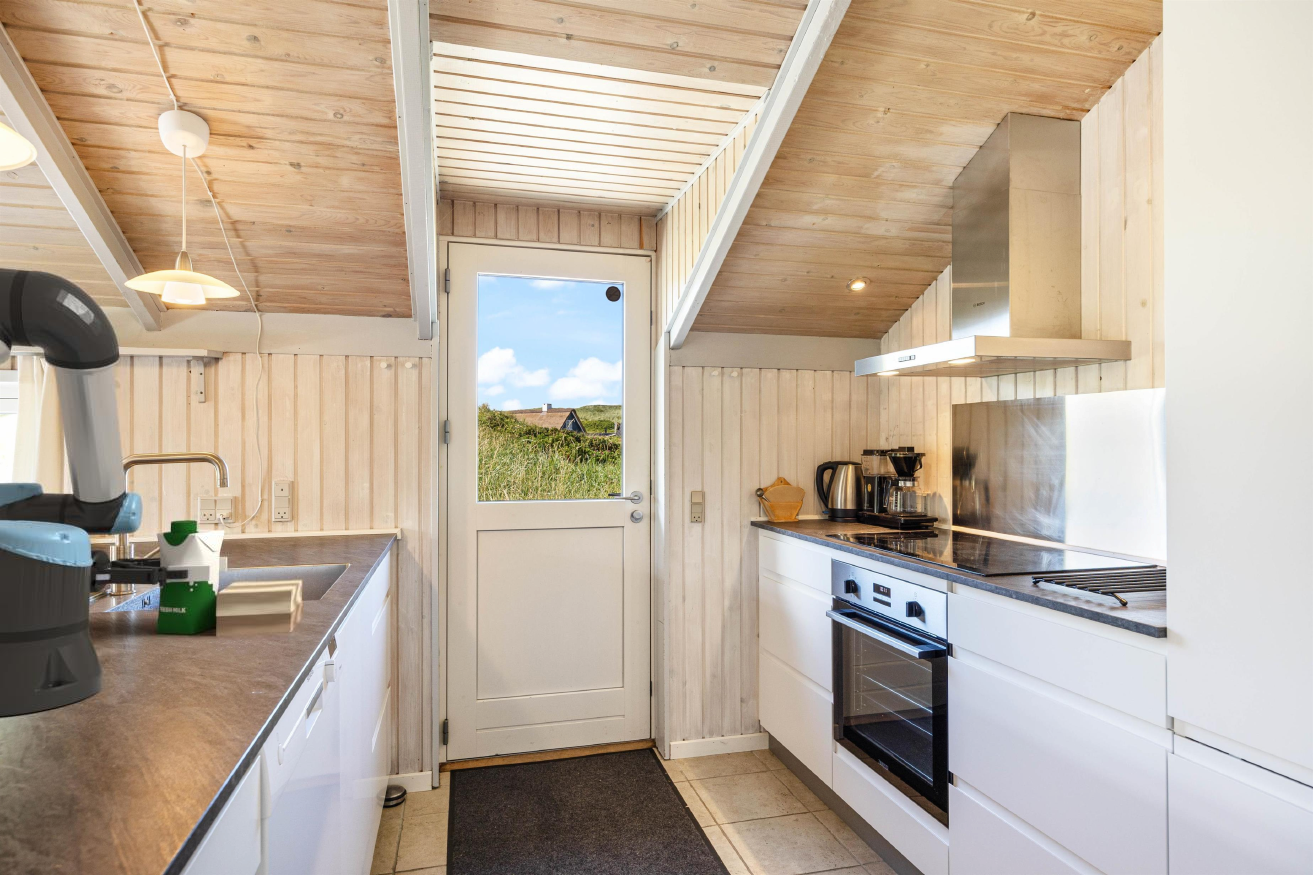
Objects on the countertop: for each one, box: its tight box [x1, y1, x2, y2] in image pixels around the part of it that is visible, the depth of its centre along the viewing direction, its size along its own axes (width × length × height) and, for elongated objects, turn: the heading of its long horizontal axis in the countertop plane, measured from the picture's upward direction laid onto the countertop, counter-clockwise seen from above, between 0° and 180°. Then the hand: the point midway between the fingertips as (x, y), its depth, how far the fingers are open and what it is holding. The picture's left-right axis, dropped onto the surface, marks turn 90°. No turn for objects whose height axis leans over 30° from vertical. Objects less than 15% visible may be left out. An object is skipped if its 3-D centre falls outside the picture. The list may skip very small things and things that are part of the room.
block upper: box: [216, 579, 303, 616], centre depth 137 cm, size 12×12×4 cm
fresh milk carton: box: [156, 519, 226, 635], centre depth 134 cm, size 9×9×20 cm
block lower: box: [215, 599, 304, 637], centre depth 137 cm, size 12×12×4 cm
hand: (218, 568), depth 135 cm, fingers closed on fresh milk carton, 9 cm apart
